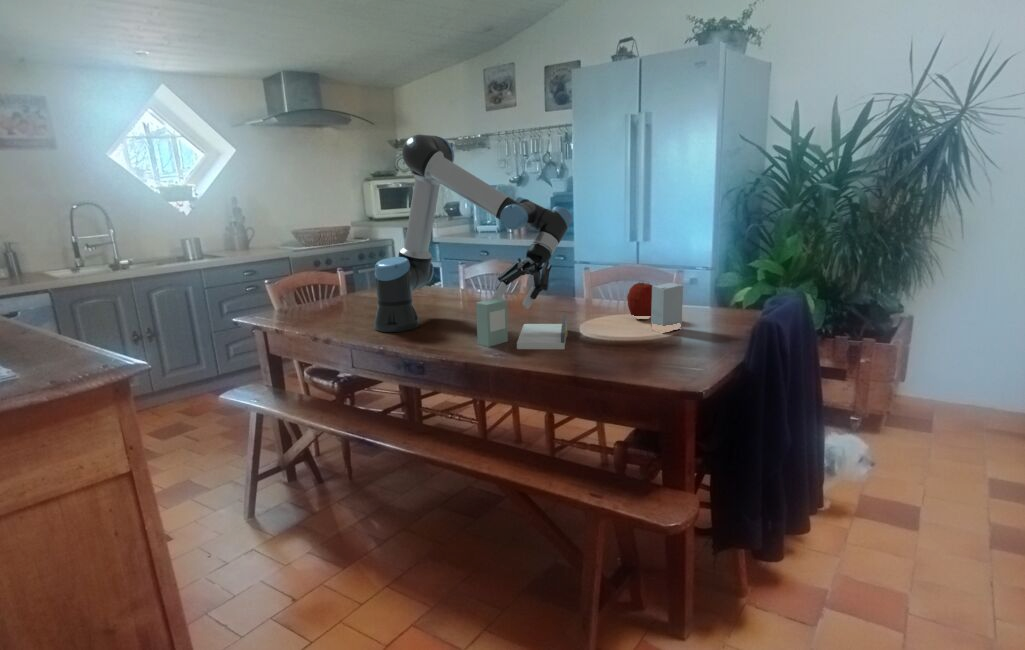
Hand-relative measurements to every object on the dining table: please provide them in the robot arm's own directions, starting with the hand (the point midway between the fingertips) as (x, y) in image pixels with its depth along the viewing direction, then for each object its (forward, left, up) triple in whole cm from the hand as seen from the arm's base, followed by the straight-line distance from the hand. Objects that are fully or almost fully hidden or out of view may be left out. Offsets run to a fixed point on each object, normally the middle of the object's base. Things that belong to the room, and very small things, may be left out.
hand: (509, 303), depth 183 cm
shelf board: (+8, +6, -11) cm, 15 cm away
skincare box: (+31, +39, -11) cm, 51 cm away
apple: (+17, +46, -11) cm, 51 cm away
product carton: (-1, -7, -11) cm, 13 cm away
